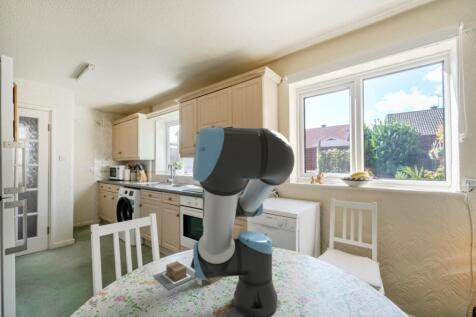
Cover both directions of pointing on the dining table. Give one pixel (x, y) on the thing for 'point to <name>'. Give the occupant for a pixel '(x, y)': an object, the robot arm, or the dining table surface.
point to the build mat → (170, 283)
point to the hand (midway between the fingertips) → (212, 277)
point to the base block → (176, 270)
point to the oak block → (213, 280)
